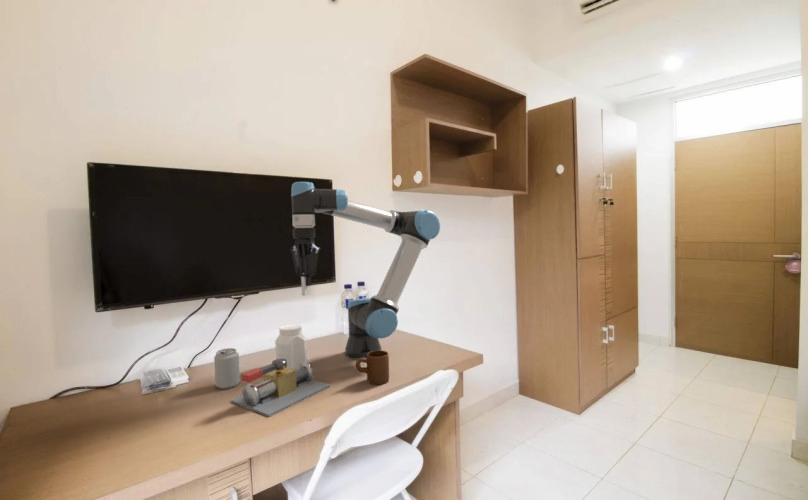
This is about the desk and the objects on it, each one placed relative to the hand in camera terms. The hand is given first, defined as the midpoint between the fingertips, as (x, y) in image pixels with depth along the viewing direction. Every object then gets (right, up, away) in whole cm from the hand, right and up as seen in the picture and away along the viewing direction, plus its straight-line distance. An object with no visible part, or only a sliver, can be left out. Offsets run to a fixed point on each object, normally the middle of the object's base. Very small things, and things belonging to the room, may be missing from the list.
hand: (306, 294), depth 133 cm
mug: (+23, -29, -4) cm, 38 cm away
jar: (-9, -29, +14) cm, 34 cm away
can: (-26, -30, -4) cm, 40 cm away
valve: (-5, -30, -11) cm, 33 cm away
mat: (-5, -30, -12) cm, 33 cm away
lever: (-8, -22, -16) cm, 29 cm away
